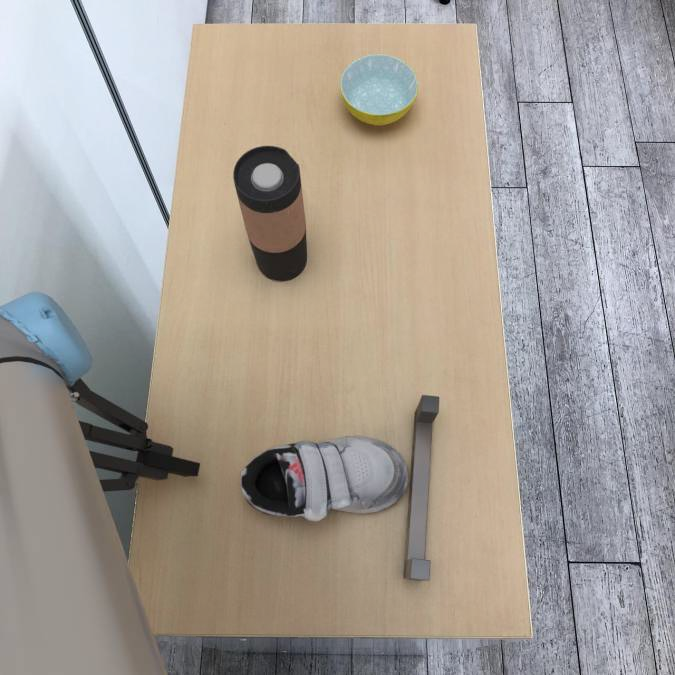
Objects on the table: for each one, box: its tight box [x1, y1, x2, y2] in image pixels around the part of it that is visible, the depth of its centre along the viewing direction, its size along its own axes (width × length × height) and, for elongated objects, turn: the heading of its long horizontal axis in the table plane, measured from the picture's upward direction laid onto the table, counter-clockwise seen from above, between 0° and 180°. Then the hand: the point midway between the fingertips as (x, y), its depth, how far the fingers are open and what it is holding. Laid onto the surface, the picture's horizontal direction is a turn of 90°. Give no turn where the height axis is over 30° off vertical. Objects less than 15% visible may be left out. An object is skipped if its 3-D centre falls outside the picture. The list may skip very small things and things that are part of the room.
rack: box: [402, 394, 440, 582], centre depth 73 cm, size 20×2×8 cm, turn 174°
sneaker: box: [240, 435, 409, 522], centre depth 72 cm, size 10×20×10 cm, turn 95°
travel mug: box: [232, 145, 308, 282], centre depth 79 cm, size 8×8×20 cm
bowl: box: [339, 53, 419, 126], centre depth 95 cm, size 11×12×6 cm
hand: (192, 470), depth 73 cm, fingers closed
